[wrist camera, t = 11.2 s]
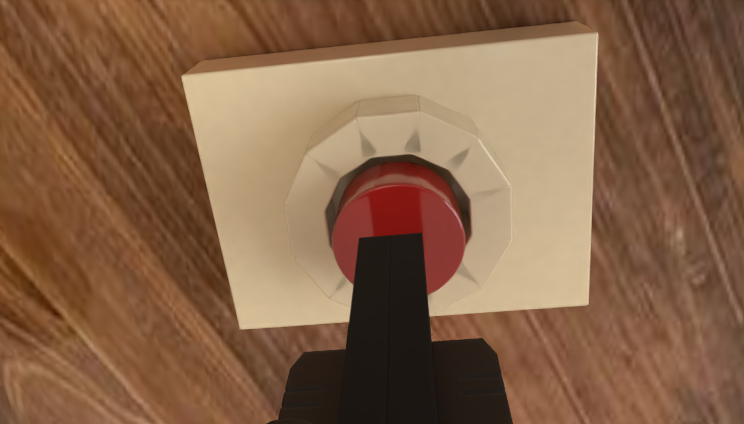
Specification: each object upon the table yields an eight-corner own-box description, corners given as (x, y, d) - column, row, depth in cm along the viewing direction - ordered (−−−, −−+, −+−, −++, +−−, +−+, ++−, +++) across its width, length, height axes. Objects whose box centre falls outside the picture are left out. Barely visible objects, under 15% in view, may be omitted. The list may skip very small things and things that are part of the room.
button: (456, 154, 18) (462, 177, 16) (463, 266, 19) (469, 297, 18) (329, 165, 18) (323, 189, 17) (345, 275, 20) (340, 306, 18)
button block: (579, 20, 20) (619, 43, 16) (573, 273, 23) (605, 338, 20) (200, 60, 21) (158, 90, 17) (252, 296, 24) (226, 362, 21)
